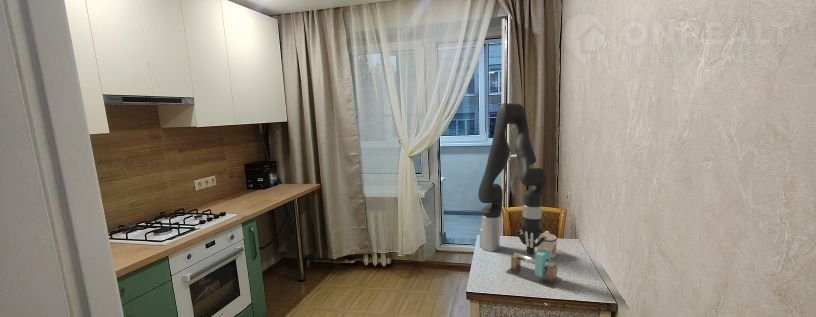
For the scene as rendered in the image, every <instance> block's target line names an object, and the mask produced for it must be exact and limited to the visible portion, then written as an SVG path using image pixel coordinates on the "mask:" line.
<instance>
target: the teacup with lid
mask: <svg viewBox="0 0 816 317" xmlns="http://www.w3.org/2000/svg"><path fill="white" fill-rule="evenodd" d="M542 235H543V236H546V237H547V239H546V240H544V241H543V242H542V243H541V244H540V245H539V246H538V247H536V253H538V252H539V251H540V250H542V249H543V248H545V249H549V250H551V259H552V258H555V257H556V256H557V240H558V238H557V236H556V235H555V234H552V233H550V231H548V230H545V231H544V232H542ZM539 237H540V236H539ZM539 237H538V238H537V239H536V243H537V242H538V241H539V240H540V239H539Z"/></svg>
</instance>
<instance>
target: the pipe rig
mask: <svg viewBox="0 0 816 317" xmlns="http://www.w3.org/2000/svg"><path fill="white" fill-rule="evenodd" d="M521 261H523V262H525V263H530V264H533V265H535V257H533V256H530V255H528V254H527V255H526V254H523V253H519V252H514V253H513V255H511V257H510V268H508V269H507V270H506V273H507V274H510V275H512V276H515V277H518V278H521V279H524V280H527V281H529V282H532V283H536V284H540V285H542V286H545V287H547V288H551V289H553V288H554V287H555V286H556V285H557V284H559V283H560V281H562V278H561V277H559V276H558V265H557V264H555V263H553V262H552V261H551V262H547V261H545V262H544V267H546V268H547V273H546V274H545V275H544V276H543V277H540V276H537V275H535V269H534V268H530V267H526V266H523V265H521Z"/></svg>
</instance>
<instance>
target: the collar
mask: <svg viewBox="0 0 816 317" xmlns="http://www.w3.org/2000/svg"><path fill="white" fill-rule="evenodd" d="M534 254H535V255H534V256H535V257H534V258H535V264H534V270H535V275H537V276H540V277H543V276H544V275H545V274H547V268H546V267H544V262H545V261H547V262H551V263H552V261H551V260H552V258H551V250H549V249H545V248H543V249H542V250H540V251H539V252H538V253H537V252H536V253H534Z"/></svg>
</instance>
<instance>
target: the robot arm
mask: <svg viewBox="0 0 816 317" xmlns="http://www.w3.org/2000/svg"><path fill="white" fill-rule="evenodd" d="M508 125H515V126H516V129H517V137H516V139H515V142H514V150H515V154H516V157H517V160H518V167H519V181H520V183H521V184H522V185H523V186H525V187H530V186H532V188H530V189H527V190H525V191H524V193H523V203H522V204H523V205H522V215H521V218H522V219H521V228H520V229H518V230H517V231H516V232H515V234H516V235H517V236H518V238H519V240H520V242H521V243H522V244H523V245H525V246H526V253H527V256H530V257H533V255H534V254H535V248H537V247H538V246H539V245H540V244H541V243H542V242H543V241H544V240H546V239H547V237H546V236H543V235H542V233H543V232H542V217H543V216H542V214H543V213H542V196H543V192H544V191H545V187H546V184H547V180H548V176H547V172H546V170H545V169H544V168H541V167H537V168H535V167H534V168H530V167H529V166H532V165H534V164H535V163H536V162H537V157H536V155H535V154H536V153H535V151H534V148H533V146H532V143H531V142H532V141H531V139H530V132H529V126H528V120H527V114H526V110H525V107H524V106H523V105H522V104H521V103H512V102H511V103H510V102H509V103H507V102H505V103H501V104H500V105H499V107H498V110H497V113H496V119H495V125H494V131H493V136H492V141H491V145H490V149H489V154H488V157H487V163H486V166H485V170H484V172H483V173H484V174H483V177H482V179H481V182H480V185H479V187H478V192H477V194H478V195H477V196H478V201H480V203H482V204H487V205H486V206H484V207H483V208H482V210H481V228H480V229H479V248H481V249H483V251H488V252H495V251H499V250H500V248H501V213H502V209H503V208H502V207H503V197H504V194H503V189H502V187H501V185H500V184H498V183H495V181H496V180H497V177H498V176H499V175H500V174H501V173H502V172H503V171H504V169H505V168H506V166H507V164H508V161H509V158H510V155H511V148H510V146H509V145H510V144H509V142H508V139H507V136H506V132H507V131H506V130H507V127H508ZM539 236H540V237H539ZM538 237H539V239H540V240H539V241H538V242H537V238H538Z"/></svg>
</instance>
